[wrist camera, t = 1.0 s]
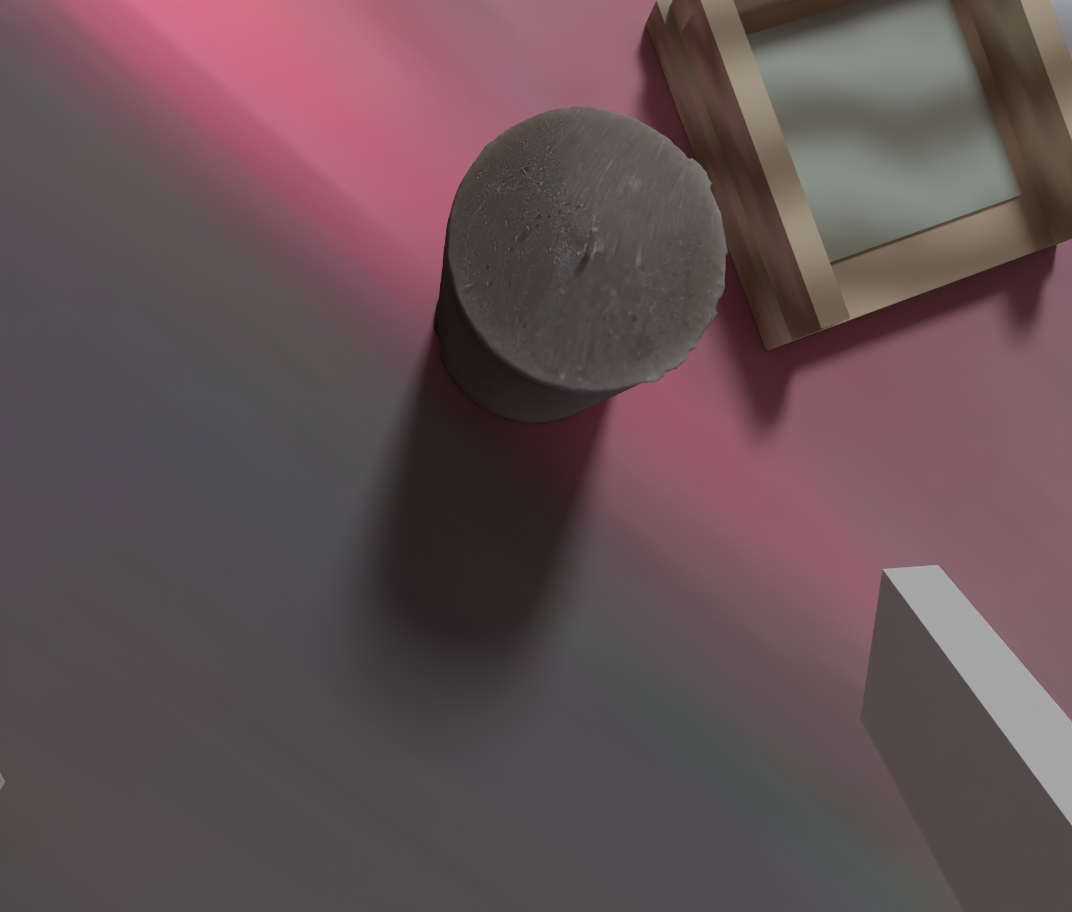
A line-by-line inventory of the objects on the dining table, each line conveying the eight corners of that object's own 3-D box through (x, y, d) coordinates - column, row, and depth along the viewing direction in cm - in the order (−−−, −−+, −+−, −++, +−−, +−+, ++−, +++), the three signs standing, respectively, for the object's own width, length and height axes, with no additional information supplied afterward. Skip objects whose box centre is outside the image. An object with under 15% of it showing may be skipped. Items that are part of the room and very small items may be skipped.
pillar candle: (393, 318, 39) (377, 220, 24) (539, 191, 40) (607, 22, 26) (529, 465, 40) (592, 456, 25) (667, 335, 41) (806, 252, 26)
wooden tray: (645, 24, 42) (675, -40, 37) (944, -65, 44) (1009, -135, 39) (766, 351, 42) (812, 332, 37) (1057, 244, 44) (1137, 213, 39)
